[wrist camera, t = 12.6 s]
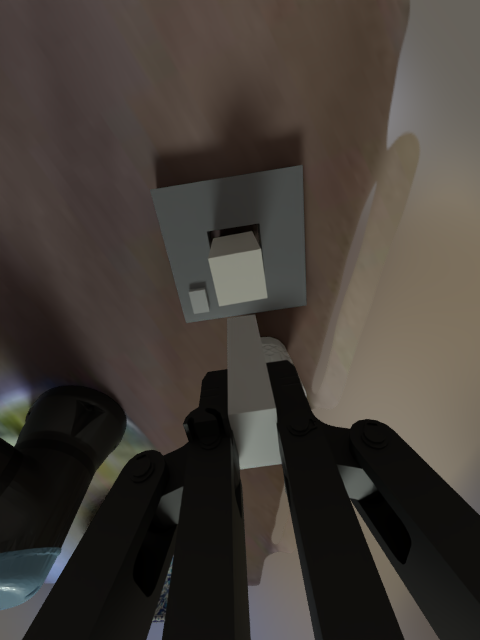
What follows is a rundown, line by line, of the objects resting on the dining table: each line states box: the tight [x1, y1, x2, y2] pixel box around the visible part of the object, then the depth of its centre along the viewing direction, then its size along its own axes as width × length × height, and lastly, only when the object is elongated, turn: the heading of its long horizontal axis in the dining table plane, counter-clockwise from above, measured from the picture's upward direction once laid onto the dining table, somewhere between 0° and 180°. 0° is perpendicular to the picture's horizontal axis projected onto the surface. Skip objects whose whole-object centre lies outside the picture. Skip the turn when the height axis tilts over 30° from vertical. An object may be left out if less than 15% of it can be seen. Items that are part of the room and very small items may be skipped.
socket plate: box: [150, 165, 306, 323], centre depth 32 cm, size 16×16×4 cm
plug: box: [208, 231, 268, 306], centre depth 29 cm, size 4×4×12 cm
